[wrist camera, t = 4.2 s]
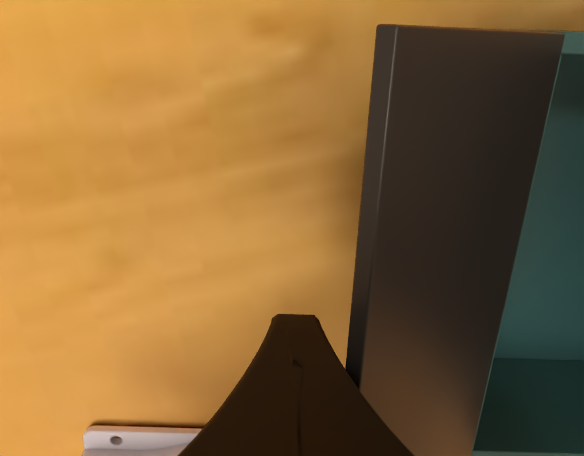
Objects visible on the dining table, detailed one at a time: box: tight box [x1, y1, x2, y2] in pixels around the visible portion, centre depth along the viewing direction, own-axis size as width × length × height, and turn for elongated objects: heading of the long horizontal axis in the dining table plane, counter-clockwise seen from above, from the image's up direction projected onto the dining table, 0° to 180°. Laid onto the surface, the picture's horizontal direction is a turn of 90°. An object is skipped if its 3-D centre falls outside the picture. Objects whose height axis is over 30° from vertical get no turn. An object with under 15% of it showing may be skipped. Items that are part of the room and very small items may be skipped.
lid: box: [345, 24, 565, 456], centre depth 11 cm, size 6×13×1 cm
